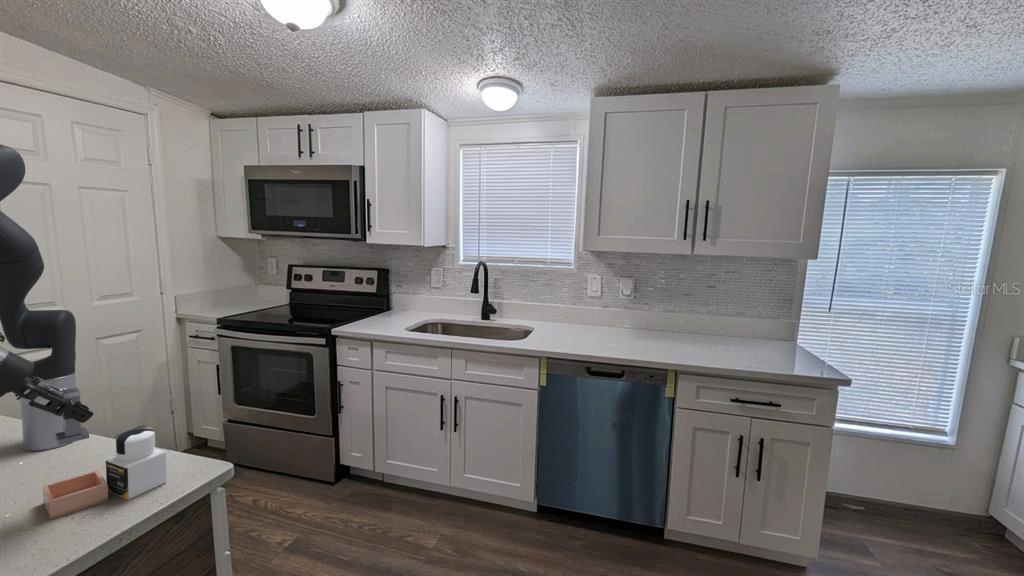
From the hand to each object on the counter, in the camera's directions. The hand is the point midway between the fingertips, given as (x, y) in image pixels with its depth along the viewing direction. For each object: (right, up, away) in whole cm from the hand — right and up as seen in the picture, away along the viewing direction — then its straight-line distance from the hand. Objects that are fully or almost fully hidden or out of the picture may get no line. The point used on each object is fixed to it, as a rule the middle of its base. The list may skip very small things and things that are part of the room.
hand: (86, 415), depth 82 cm
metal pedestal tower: (-1, -4, -1) cm, 5 cm away
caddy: (-2, -17, 0) cm, 17 cm away
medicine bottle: (+5, -17, +6) cm, 19 cm away
